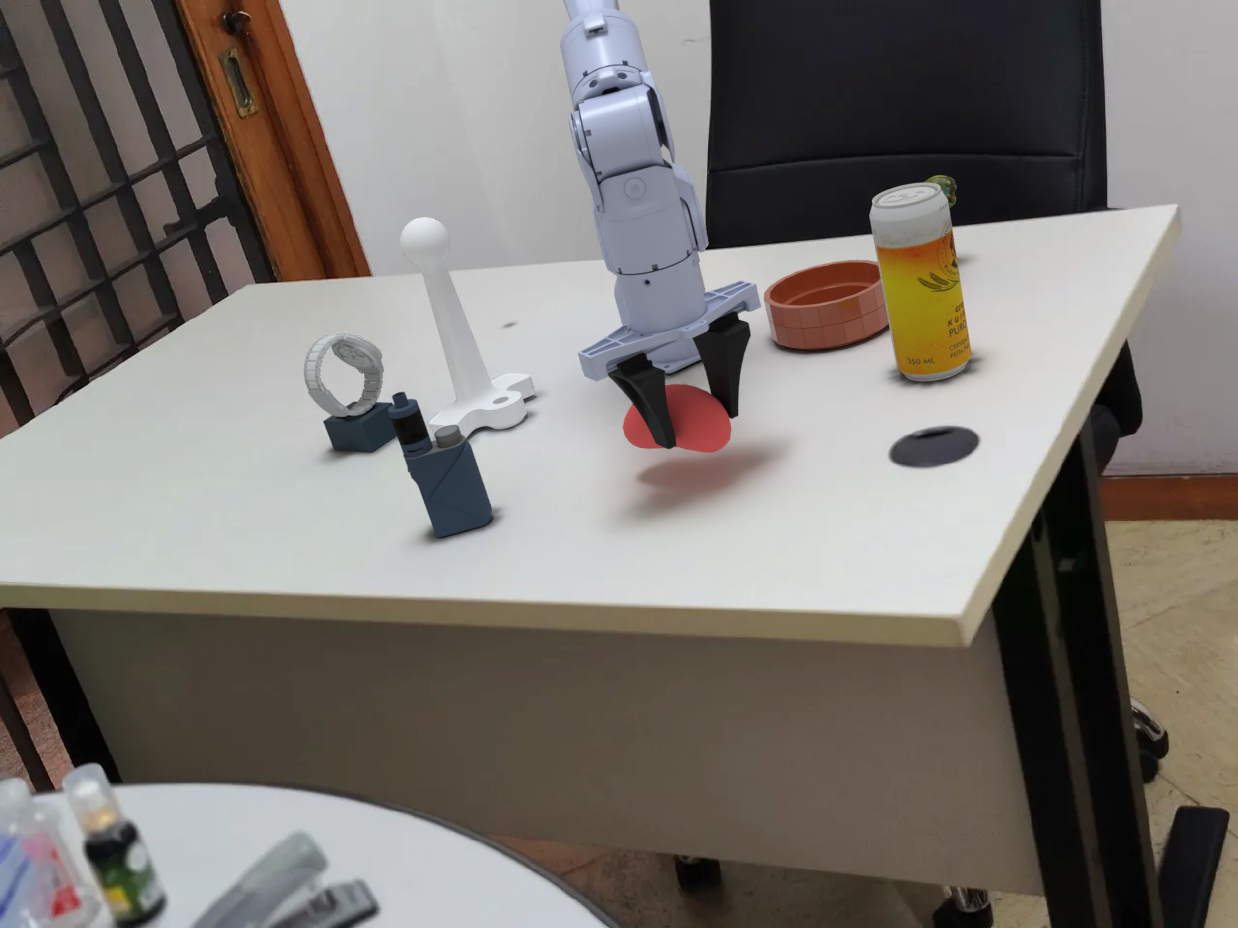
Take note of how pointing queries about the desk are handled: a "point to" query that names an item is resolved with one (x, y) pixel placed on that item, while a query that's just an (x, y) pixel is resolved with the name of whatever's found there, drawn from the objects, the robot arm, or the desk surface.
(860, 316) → the bowl
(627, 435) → the red kidney bean
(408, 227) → the joystick
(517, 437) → the desk surface
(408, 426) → the vaping device
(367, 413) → the watch
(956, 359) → the beer can
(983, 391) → the desk surface
